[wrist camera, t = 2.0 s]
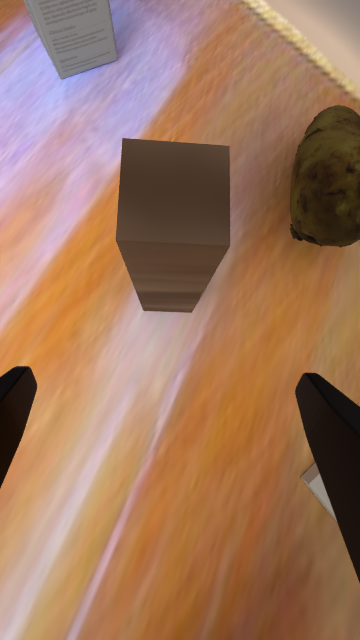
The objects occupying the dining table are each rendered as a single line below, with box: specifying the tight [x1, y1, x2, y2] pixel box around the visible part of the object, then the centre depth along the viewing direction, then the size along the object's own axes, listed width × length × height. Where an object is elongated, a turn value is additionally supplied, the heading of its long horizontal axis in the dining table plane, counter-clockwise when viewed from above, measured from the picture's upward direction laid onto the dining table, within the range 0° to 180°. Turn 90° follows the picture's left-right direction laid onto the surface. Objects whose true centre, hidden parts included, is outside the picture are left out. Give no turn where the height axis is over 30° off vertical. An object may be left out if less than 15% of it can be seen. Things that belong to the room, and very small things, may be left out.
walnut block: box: [116, 138, 230, 312], centre depth 16 cm, size 4×4×13 cm
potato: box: [290, 105, 360, 247], centre depth 21 cm, size 8×13×8 cm, turn 145°
